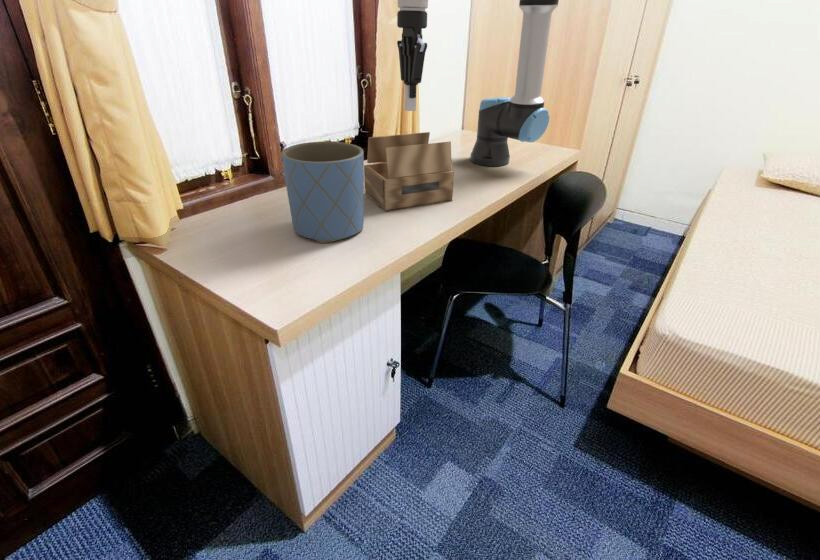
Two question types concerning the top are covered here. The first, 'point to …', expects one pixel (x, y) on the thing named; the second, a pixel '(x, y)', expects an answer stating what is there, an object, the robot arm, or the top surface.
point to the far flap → (392, 144)
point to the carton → (407, 188)
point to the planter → (325, 189)
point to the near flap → (418, 159)
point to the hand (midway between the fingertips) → (410, 110)
